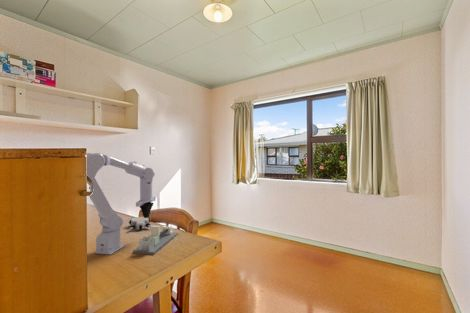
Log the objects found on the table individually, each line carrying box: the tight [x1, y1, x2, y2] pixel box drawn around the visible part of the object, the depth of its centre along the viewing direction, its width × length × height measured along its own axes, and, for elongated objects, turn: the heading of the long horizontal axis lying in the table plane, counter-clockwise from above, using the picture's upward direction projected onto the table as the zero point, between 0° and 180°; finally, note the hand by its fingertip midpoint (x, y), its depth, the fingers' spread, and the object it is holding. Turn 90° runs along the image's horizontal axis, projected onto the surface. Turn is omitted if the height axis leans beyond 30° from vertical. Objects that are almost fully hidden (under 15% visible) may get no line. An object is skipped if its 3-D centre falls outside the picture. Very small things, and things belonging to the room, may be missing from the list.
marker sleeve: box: [147, 225, 161, 245], centre depth 104 cm, size 5×4×7 cm
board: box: [132, 225, 179, 255], centre depth 108 cm, size 24×10×5 cm, turn 170°
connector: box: [138, 236, 154, 251], centre depth 99 cm, size 5×5×4 cm
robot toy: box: [128, 216, 152, 231], centre depth 131 cm, size 12×4×15 cm
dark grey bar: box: [159, 227, 168, 237], centre depth 107 cm, size 20×1×1 cm, turn 170°
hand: (146, 217), depth 114 cm, fingers closed
